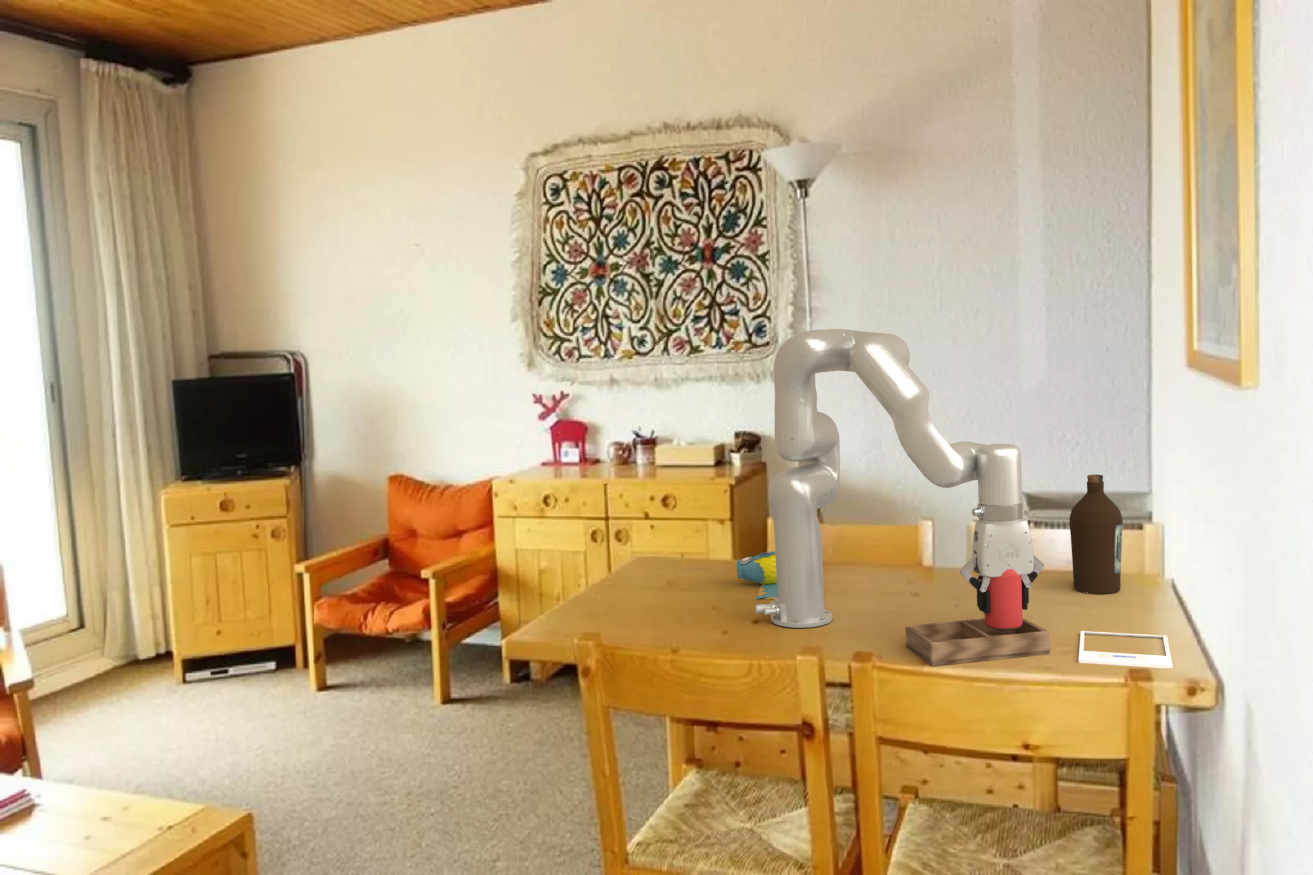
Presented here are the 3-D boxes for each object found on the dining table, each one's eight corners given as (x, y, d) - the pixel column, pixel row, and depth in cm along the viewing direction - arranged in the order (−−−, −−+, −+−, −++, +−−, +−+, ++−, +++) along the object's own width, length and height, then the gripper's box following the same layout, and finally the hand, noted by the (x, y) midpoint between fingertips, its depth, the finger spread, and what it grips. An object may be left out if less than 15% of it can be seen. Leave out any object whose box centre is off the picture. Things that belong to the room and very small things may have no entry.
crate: (932, 666, 186) (931, 644, 186) (906, 647, 198) (905, 626, 198) (1049, 654, 189) (1049, 632, 189) (1017, 635, 201) (1016, 615, 201)
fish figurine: (792, 563, 236) (725, 565, 240) (795, 602, 237) (728, 602, 240) (807, 538, 263) (746, 540, 267) (809, 573, 263) (748, 574, 267)
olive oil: (1069, 594, 229) (1067, 478, 226) (1071, 582, 239) (1069, 471, 236) (1123, 596, 225) (1122, 479, 222) (1123, 584, 234) (1122, 471, 232)
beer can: (1014, 620, 197) (1013, 556, 196) (1028, 630, 191) (1026, 564, 190) (979, 622, 197) (977, 558, 196) (992, 632, 191) (990, 566, 190)
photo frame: (1078, 658, 184) (1080, 630, 200) (1078, 664, 184) (1080, 635, 201) (1172, 664, 178) (1166, 634, 195) (1172, 671, 178) (1166, 640, 195)
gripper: (964, 520, 187) (967, 619, 189) (1056, 512, 190) (1058, 610, 191) (946, 513, 195) (949, 609, 196) (1035, 505, 197) (1037, 600, 199)
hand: (1003, 609), depth 194 cm, fingers closed on beer can, 6 cm apart
